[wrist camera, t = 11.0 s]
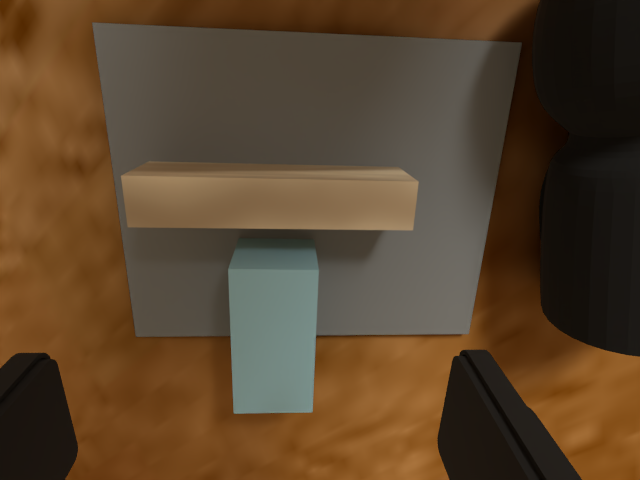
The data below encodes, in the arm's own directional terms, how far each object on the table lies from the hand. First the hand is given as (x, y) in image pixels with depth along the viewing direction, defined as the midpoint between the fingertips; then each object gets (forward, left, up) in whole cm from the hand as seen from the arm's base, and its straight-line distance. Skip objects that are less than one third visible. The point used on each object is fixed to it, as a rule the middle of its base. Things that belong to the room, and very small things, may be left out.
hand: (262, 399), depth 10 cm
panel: (-1, +2, -16) cm, 16 cm away
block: (+1, 0, -13) cm, 13 cm away
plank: (-2, 0, -16) cm, 16 cm away
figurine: (-5, +18, -16) cm, 25 cm away
